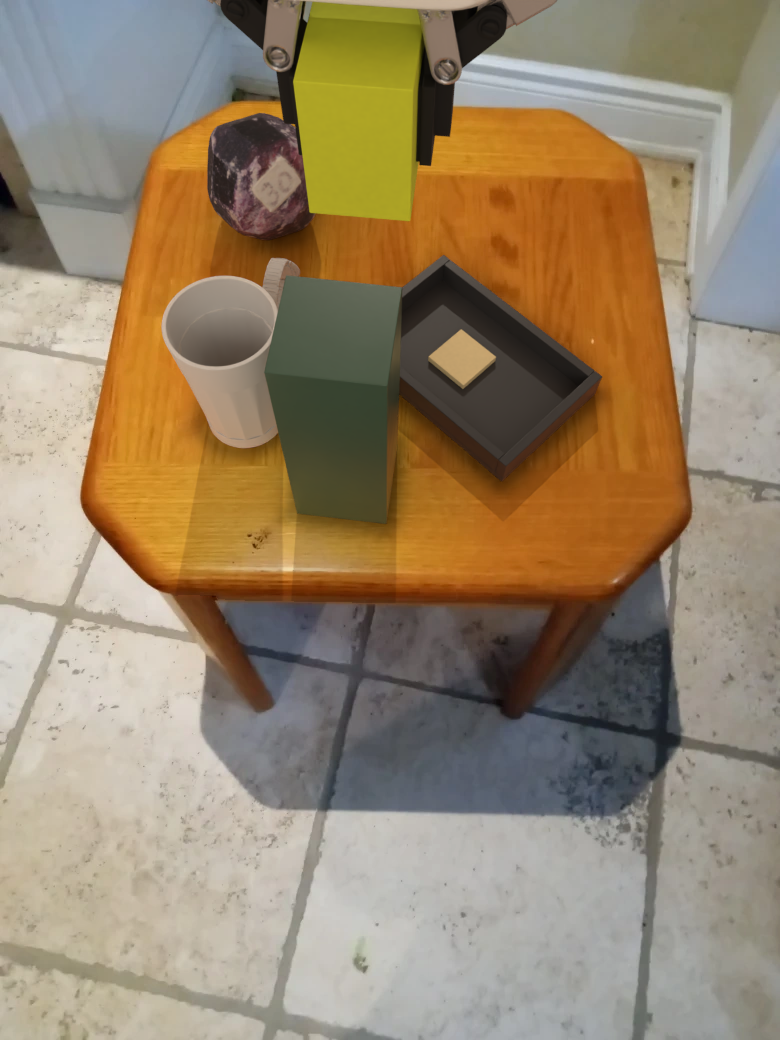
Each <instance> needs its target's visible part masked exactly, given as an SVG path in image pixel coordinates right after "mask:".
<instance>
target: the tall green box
mask: <svg viewBox="0 0 780 1040" xmlns="http://www.w3.org/2000/svg"><path fill="white" fill-rule="evenodd" d="M402 287H403V286H393V285H385V284H384V285H383V284H376V283H366V282H365V283H364V282H357V281H356V282H355V281H345V280H336V279H328V278H327V279H326V278H316V277H307V276H299V277H298V276H289V275H286V277H285V282H284V286H283V291H282V295H281V300H280V304H279V308H278V313H277V317H276V322H275V326H274V331H273V335H272V340H271V344H270V348H269V353H268V357H267V362H266V366H265V371H264V374H265V378H266V382H267V386H268V391H269V395H270V399H271V404H272V408H273V412H274V417H275V421H276V425H277V430H278V433H277V435H278V438H279V442H280V447H281V451H282V455H283V459H284V460H283V461H284V464H285V468H286V473H287V477H288V481H289V485H290V489H291V493H292V499H293V502H294V506H295V511H296V514H298V515H306V516H314V517H325V518H333V519H339V520H348V521H349V520H351V521H358V522H365V523H375V524H384V525H386V524H387V523H388V517H389V509H390V503H391V495H392V488H393V481H394V474H395V466H396V460H397V453H398V446H399V445H398V441H399V440H398V439H399V409H400V395H399V383H400V350H401V318H402Z"/></svg>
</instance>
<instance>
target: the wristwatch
mask: <svg viewBox="0 0 780 1040" xmlns="http://www.w3.org/2000/svg"><path fill="white" fill-rule="evenodd" d="M286 275H289V276H298V277H300V275H301V269H300V268H299V266H298V265H297V263H295V262H293V261H292V260H290V259H288V258H285V257H284V258H283V257H271V258H270V260H269V261H268V263H267V265H266V269H265V272H264V277H263V282H262V286H261V287H262V288H263V289H265V290H266V291H267V292H268V293H269V295H270V296H271V297H272V299H273V300H274V302H275V304H276V306H277V310H278V308H279V304H280V300H281V295H282V291H283V286H284V282H285V277H286Z"/></svg>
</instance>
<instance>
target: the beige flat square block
mask: <svg viewBox="0 0 780 1040" xmlns="http://www.w3.org/2000/svg"><path fill="white" fill-rule="evenodd" d="M495 360H496V356H494V355H493V354H492V353H491V352H489V351H488V350H487V349H486V348H484V347H483V346H482V345H481V344H479V343H478V342H477V341H475V340H474V339H473V338H472V337H470V336H469V335H468V334H467V333H465V332H464V331H463V330H462V329H461V330H460V331H458V332H457V333H456V334H455V335H454V336H452V337H451V338H450V339H449V340H448V341H446V342H445V343H444V344H443V345H442V346H441V347H439V348H438V349H437V350H436V351H435V352H433V353H432V354H431V355H430V356H429V357H428V361H429V362H431V363H432V364H433V365H434V366H435V367H437V368H438V369H439V370H440V371H441V372H443V373H444V374H445V375H446V376H448V377H449V378H450V379H451V380H452V381H454V382H455V383H456V384H457V385H458V386H460V387H461V388H462V389H464V388H465V387H466V386H467V385H468V384H469V383H471V382H472V381H473V380H474V379H475V378H476V377H477V376H479V375H480V374H481V373H482V372H483V371H484V370H486V369H487V368H488V367H489V366H490V365H491V364H492V363H494V362H495Z"/></svg>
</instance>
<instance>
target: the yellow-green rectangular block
mask: <svg viewBox="0 0 780 1040" xmlns="http://www.w3.org/2000/svg"><path fill="white" fill-rule="evenodd" d="M306 22H307V26H306V30H305V34H304V39H303V43H302V47H301V51H300V55H299V59H298V64H297V68H296V72H295V76H294V80H293V84H294V92H295V100H296V108H297V116H298V124H299V132H300V140H301V148H302V156H303V164H304V172H305V180H306V188H307V196H308V204H309V212H310V213H316V214H317V215H329V216H330V215H331V216H342V217H354V218H365V219H378V220H387V221H388V220H389V221H400V222H401V221H402V222H411V220H412V213H413V206H414V199H415V198H414V197H415V191H416V186H417V185H416V184H417V178H418V169H419V162H416V143H417V109H418V86H419V79H420V72H421V65H422V58H423V52H424V45H425V43H424V38H423V33H422V29H421V24H420V19H419V15H418V10H417V9H405V8H391V7H376V6H362V5H348V4H334V3H322V2H311V5H310V10H309V14H308V18H307V21H306Z"/></svg>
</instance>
